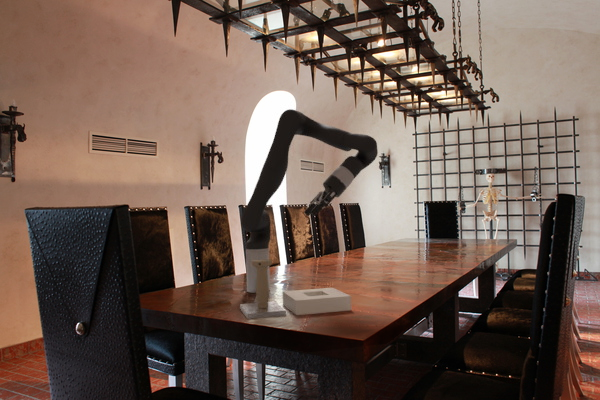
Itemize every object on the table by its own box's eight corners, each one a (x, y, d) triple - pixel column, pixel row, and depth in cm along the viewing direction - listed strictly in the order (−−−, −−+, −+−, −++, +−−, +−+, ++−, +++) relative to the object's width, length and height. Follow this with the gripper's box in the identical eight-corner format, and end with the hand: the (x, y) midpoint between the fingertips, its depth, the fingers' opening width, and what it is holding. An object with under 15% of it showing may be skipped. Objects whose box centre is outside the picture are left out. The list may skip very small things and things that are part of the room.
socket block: (283, 304, 165) (282, 291, 165) (332, 300, 170) (332, 287, 170) (296, 315, 148) (295, 300, 148) (351, 310, 152) (350, 296, 152)
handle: (270, 309, 150) (269, 261, 150) (251, 309, 152) (249, 261, 152) (274, 306, 155) (273, 259, 155) (255, 305, 156) (254, 259, 156)
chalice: (273, 299, 174) (272, 250, 175) (267, 303, 168) (265, 251, 168) (254, 299, 176) (253, 250, 177) (248, 303, 170) (246, 252, 170)
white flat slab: (240, 308, 160) (239, 304, 160) (275, 305, 163) (275, 301, 163) (247, 318, 145) (247, 313, 145) (286, 315, 148) (286, 310, 148)
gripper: (325, 175, 179) (296, 207, 176) (338, 172, 165) (307, 206, 162) (339, 189, 180) (310, 221, 177) (353, 187, 166) (322, 221, 163)
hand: (309, 214), depth 169 cm, fingers open, 8 cm apart
